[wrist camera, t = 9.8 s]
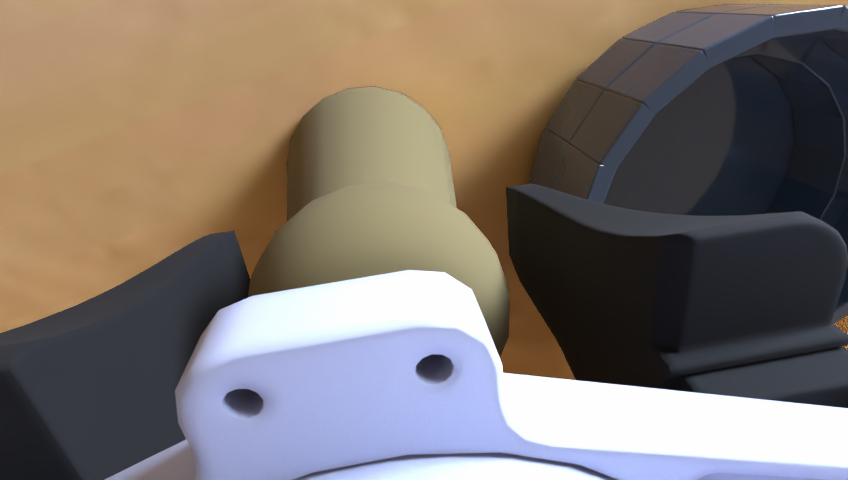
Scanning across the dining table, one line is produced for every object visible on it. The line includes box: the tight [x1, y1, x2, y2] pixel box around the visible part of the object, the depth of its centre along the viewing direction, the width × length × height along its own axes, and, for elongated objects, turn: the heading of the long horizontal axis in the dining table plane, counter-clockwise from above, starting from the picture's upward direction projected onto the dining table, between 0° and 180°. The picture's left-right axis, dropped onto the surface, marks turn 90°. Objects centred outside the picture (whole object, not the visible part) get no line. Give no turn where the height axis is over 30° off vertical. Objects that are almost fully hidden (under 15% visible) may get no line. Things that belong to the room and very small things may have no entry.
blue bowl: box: [530, 4, 848, 324], centre depth 18 cm, size 12×12×5 cm
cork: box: [248, 87, 510, 357], centre depth 13 cm, size 6×6×11 cm
